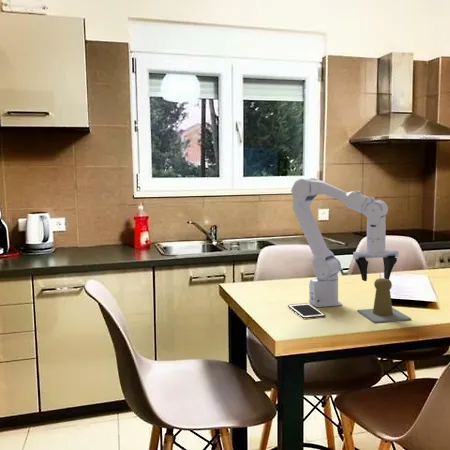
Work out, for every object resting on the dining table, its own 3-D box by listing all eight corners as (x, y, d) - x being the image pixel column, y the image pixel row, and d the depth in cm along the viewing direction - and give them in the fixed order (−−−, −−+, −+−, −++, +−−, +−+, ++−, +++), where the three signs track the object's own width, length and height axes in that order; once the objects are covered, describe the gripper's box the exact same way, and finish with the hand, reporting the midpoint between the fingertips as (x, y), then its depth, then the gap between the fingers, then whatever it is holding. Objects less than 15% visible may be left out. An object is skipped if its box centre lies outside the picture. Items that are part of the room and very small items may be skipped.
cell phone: (308, 305, 164) (308, 302, 164) (326, 318, 150) (326, 315, 150) (287, 307, 163) (287, 304, 163) (303, 320, 148) (303, 317, 148)
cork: (376, 309, 155) (377, 276, 153) (395, 312, 151) (395, 278, 150) (369, 313, 150) (370, 279, 149) (389, 317, 146) (389, 282, 145)
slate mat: (373, 323, 143) (374, 321, 143) (357, 311, 155) (357, 309, 155) (411, 319, 145) (411, 318, 144) (391, 308, 156) (391, 307, 156)
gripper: (359, 241, 147) (359, 283, 149) (403, 238, 149) (402, 281, 151) (350, 237, 154) (350, 278, 156) (392, 235, 156) (392, 276, 158)
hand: (375, 279), depth 154 cm, fingers open, 7 cm apart
